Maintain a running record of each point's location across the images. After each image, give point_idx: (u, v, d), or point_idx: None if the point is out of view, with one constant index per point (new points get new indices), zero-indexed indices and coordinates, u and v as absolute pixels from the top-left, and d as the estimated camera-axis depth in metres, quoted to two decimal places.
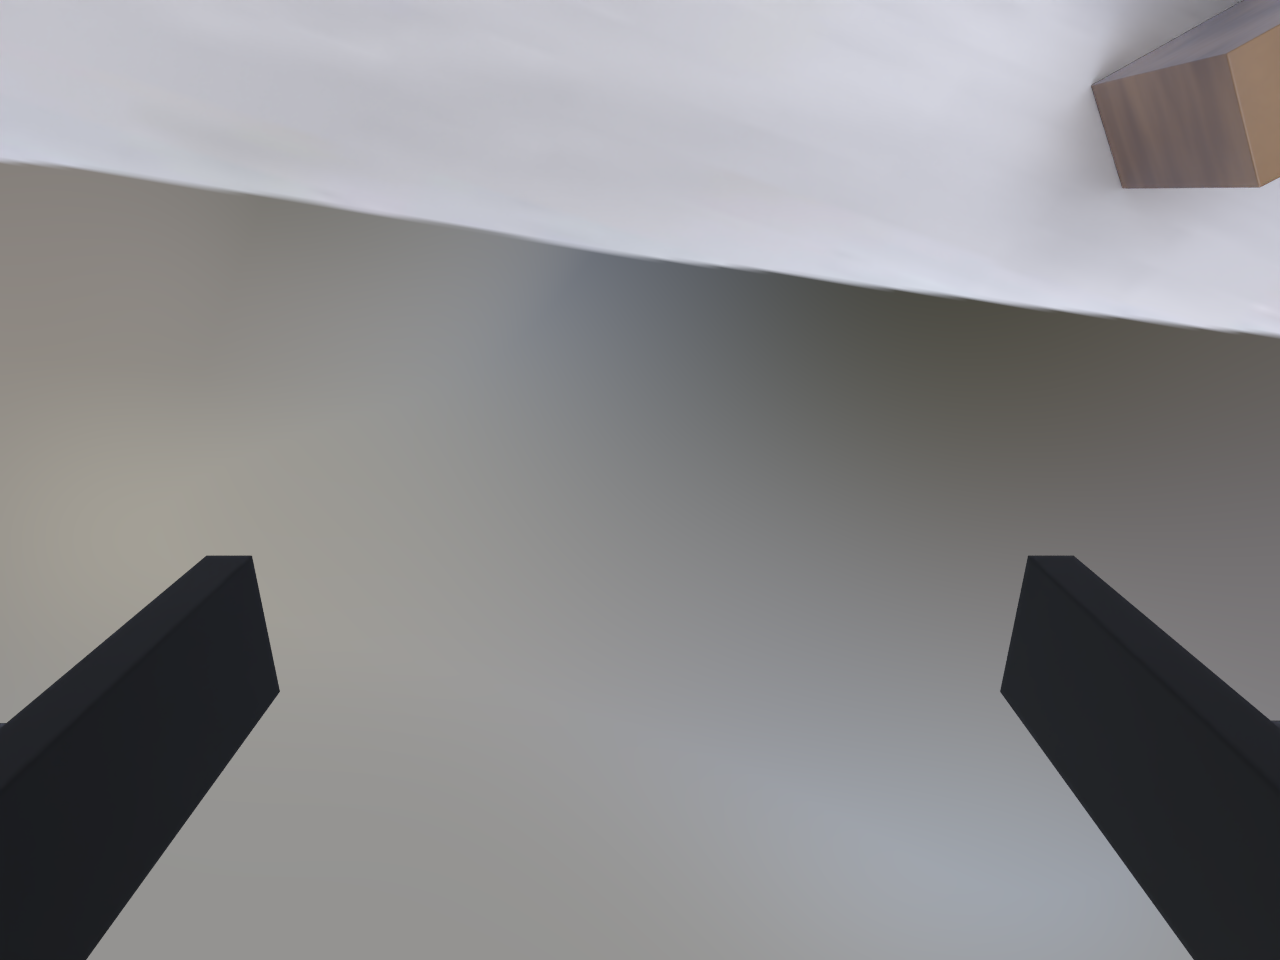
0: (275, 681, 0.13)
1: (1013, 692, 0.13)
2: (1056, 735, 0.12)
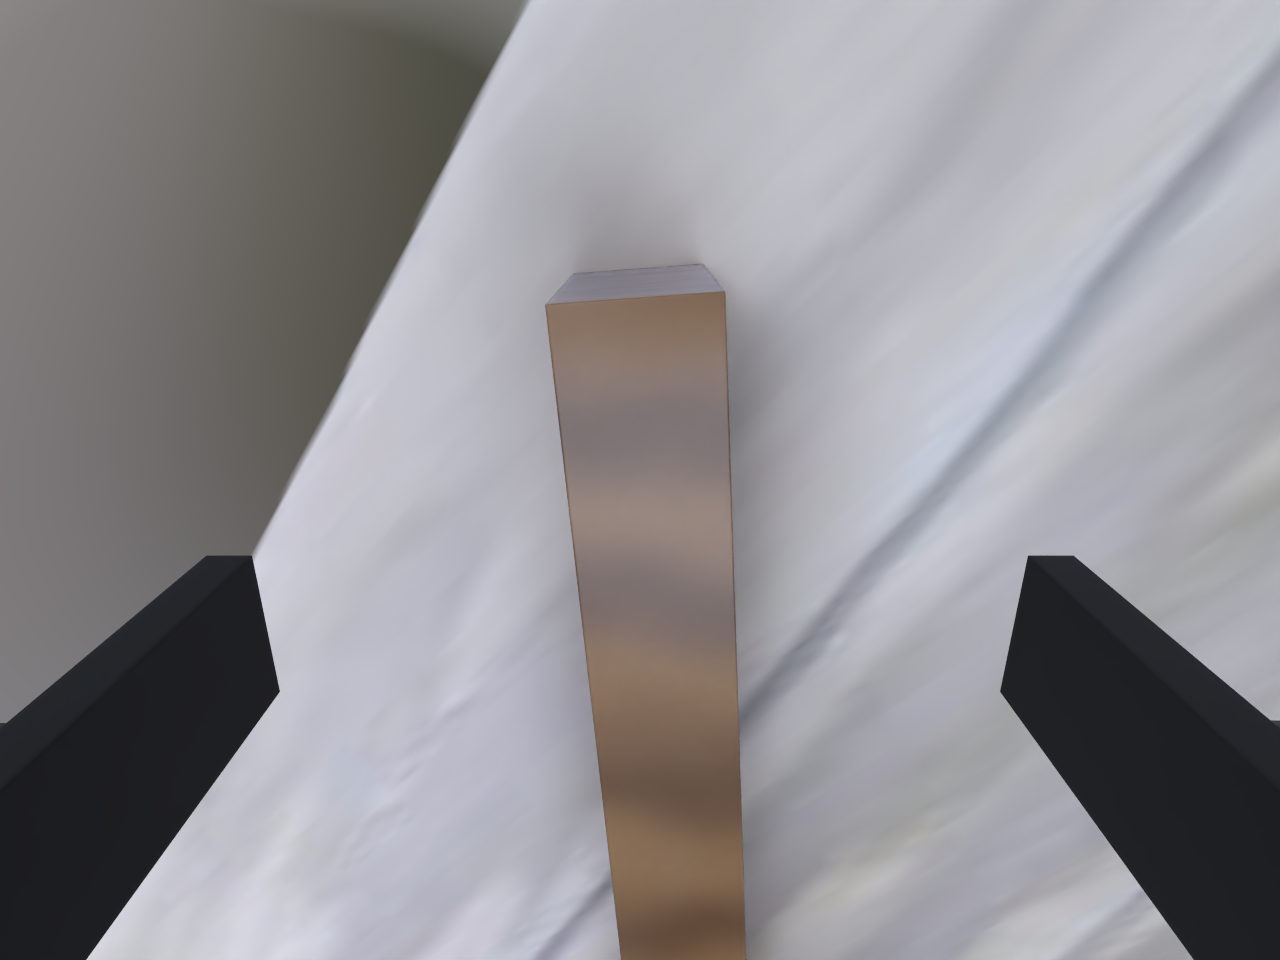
0: (275, 681, 0.13)
1: (1013, 692, 0.13)
2: (1056, 735, 0.12)
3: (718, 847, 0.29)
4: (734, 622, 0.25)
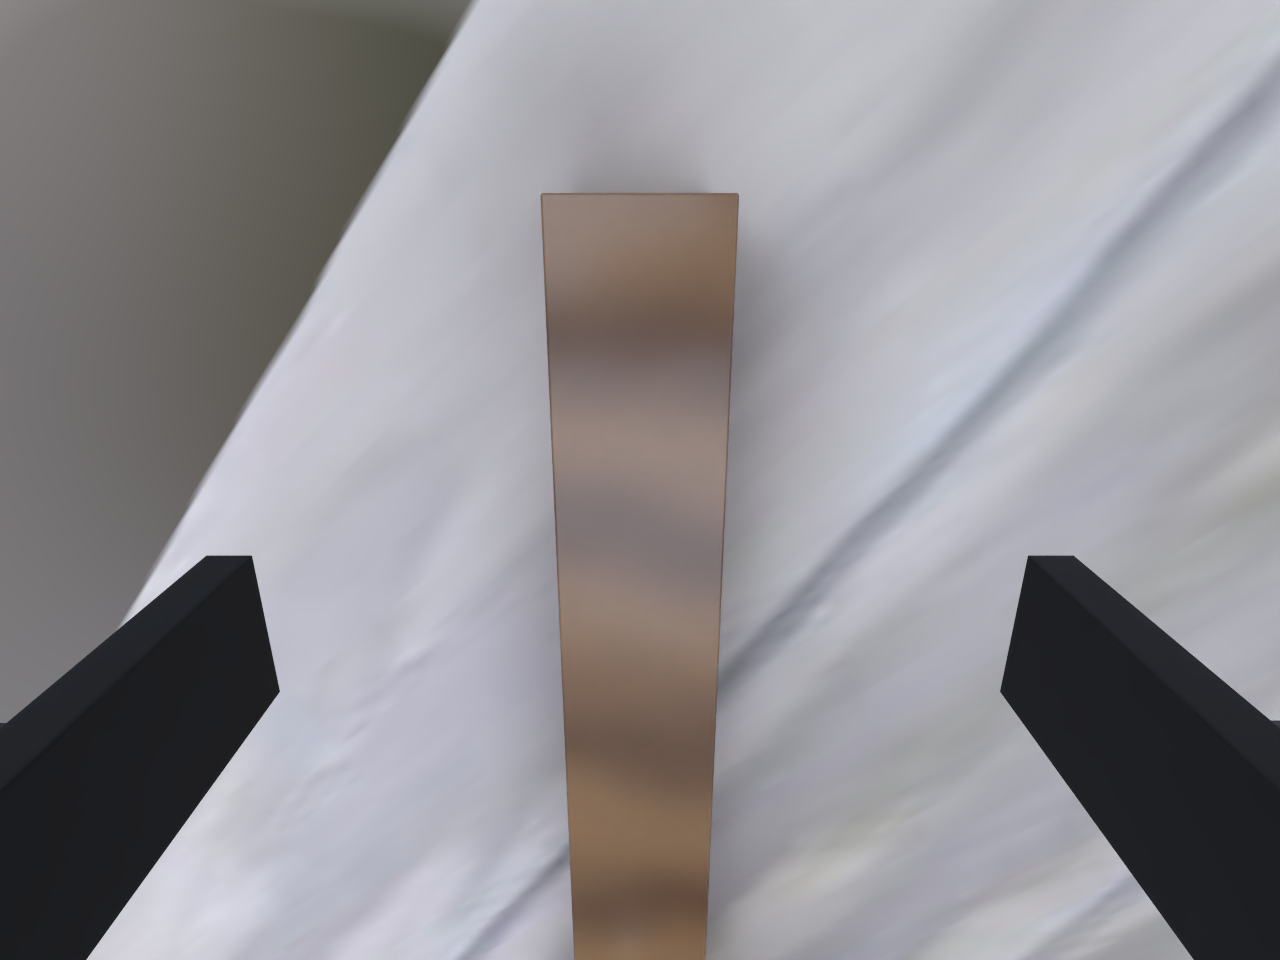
0: (275, 681, 0.13)
1: (1013, 692, 0.13)
2: (1056, 735, 0.12)
3: (686, 814, 0.27)
4: (721, 568, 0.23)
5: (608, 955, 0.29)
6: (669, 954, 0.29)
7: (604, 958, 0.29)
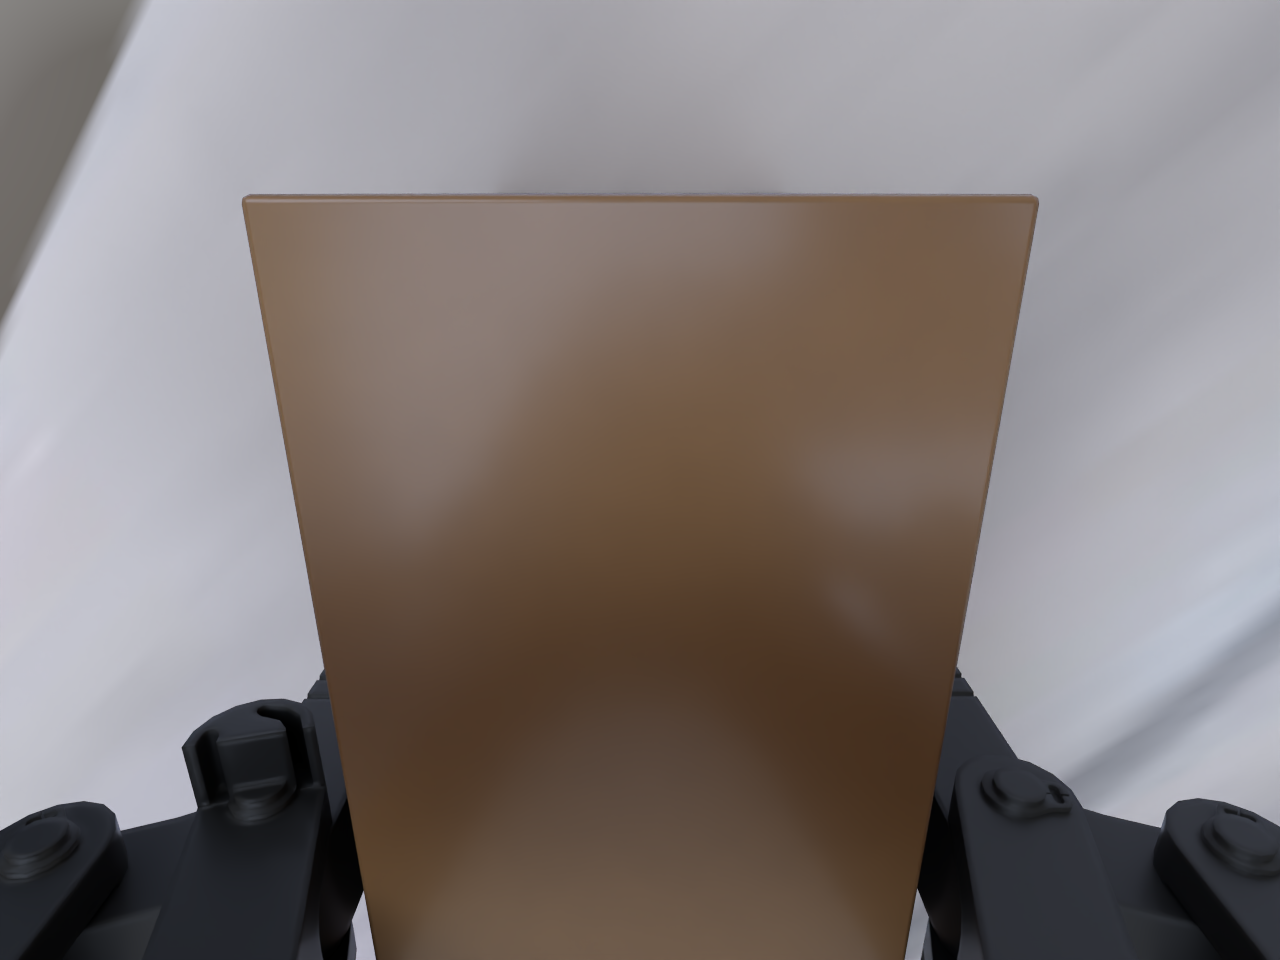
0: None
1: None
2: None
3: None
4: None
5: None
6: None
7: None
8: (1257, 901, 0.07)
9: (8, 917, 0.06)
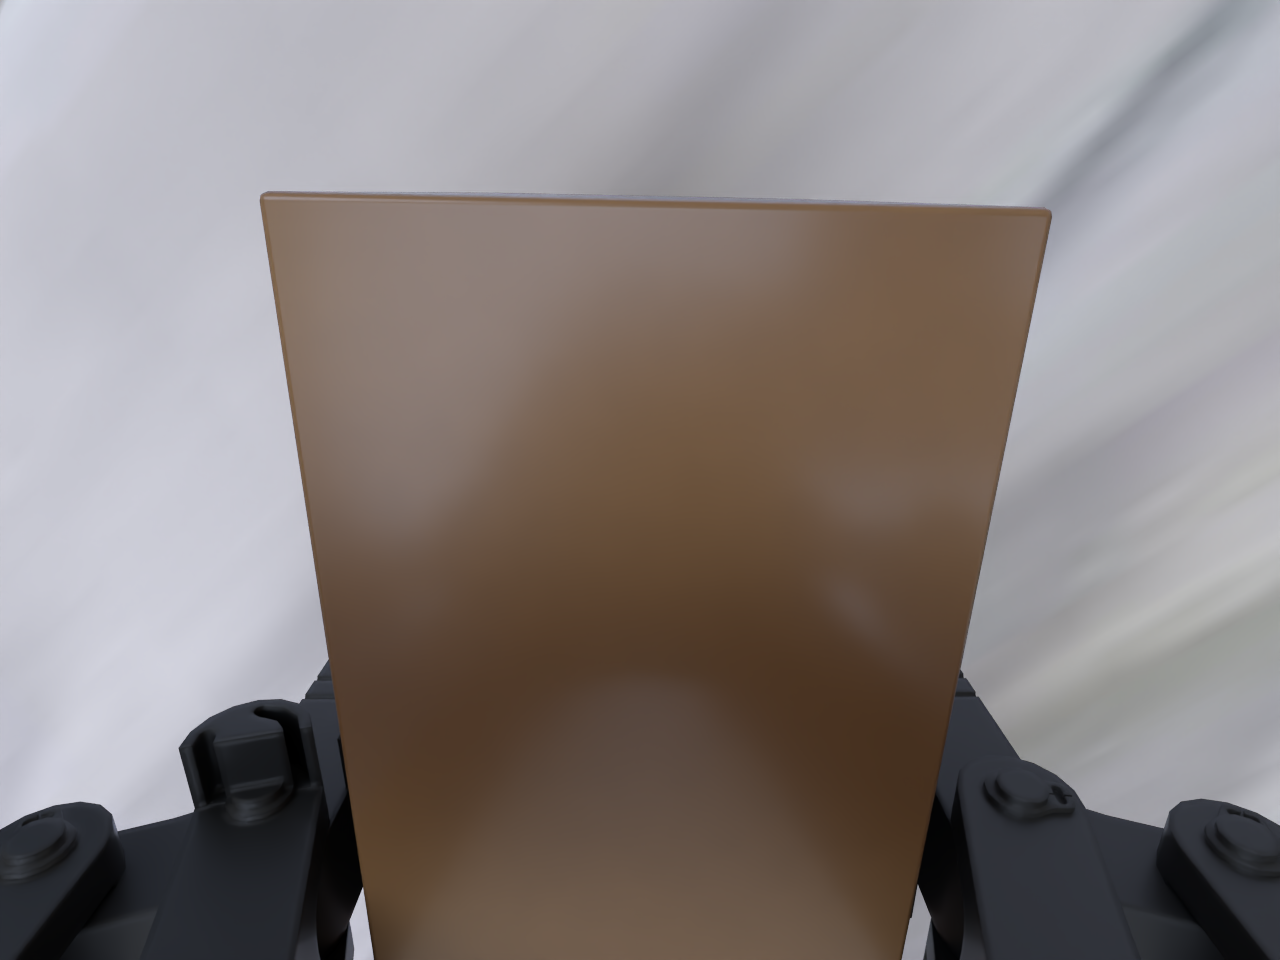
0: None
1: None
2: None
3: None
4: None
5: None
6: None
7: None
8: (1261, 901, 0.07)
9: (4, 918, 0.06)
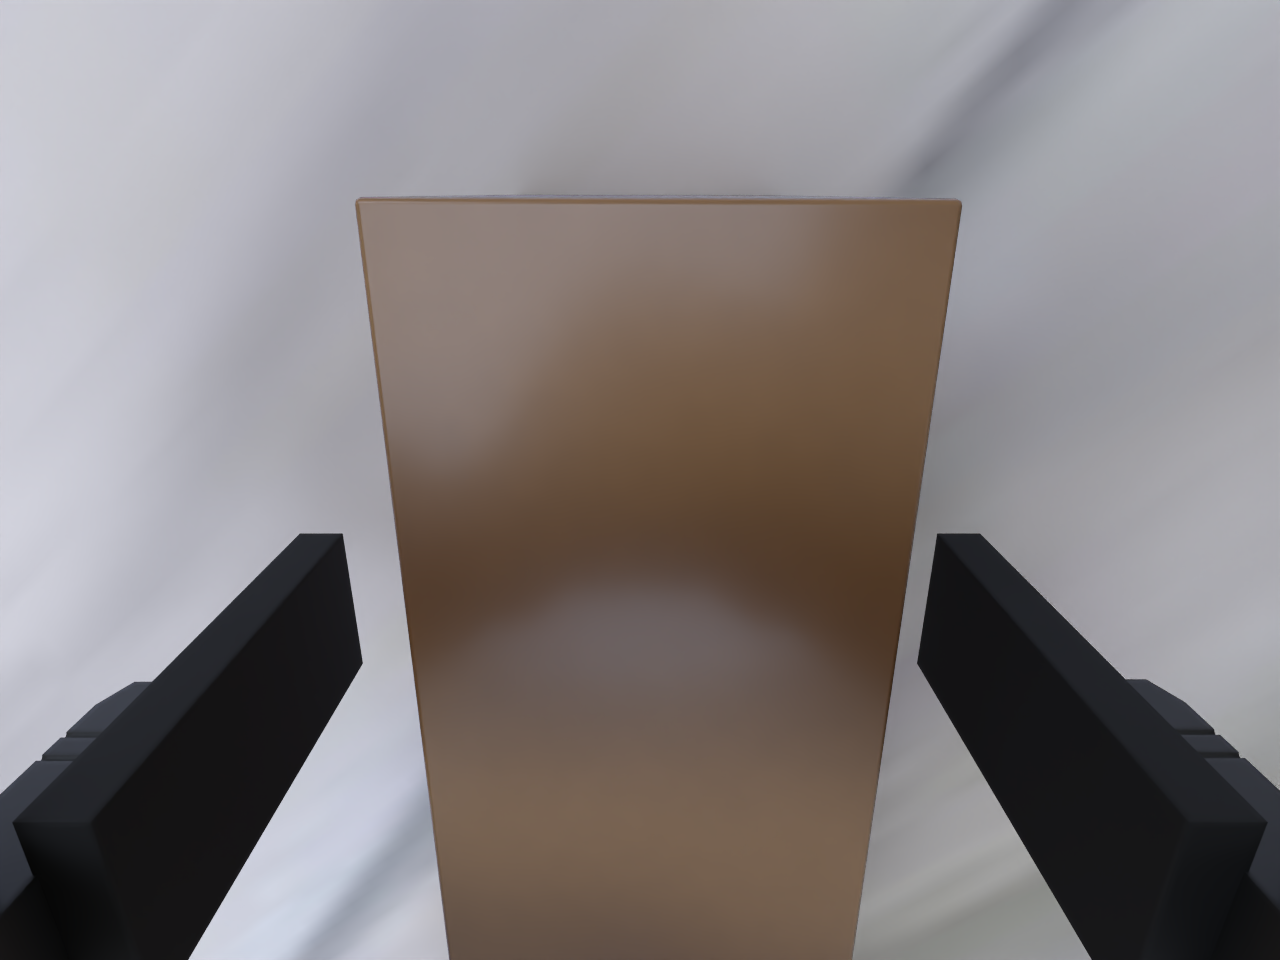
0: (359, 653, 0.14)
1: (926, 663, 0.14)
2: (957, 700, 0.12)
3: None
4: None
5: None
6: None
7: None
8: None
9: None
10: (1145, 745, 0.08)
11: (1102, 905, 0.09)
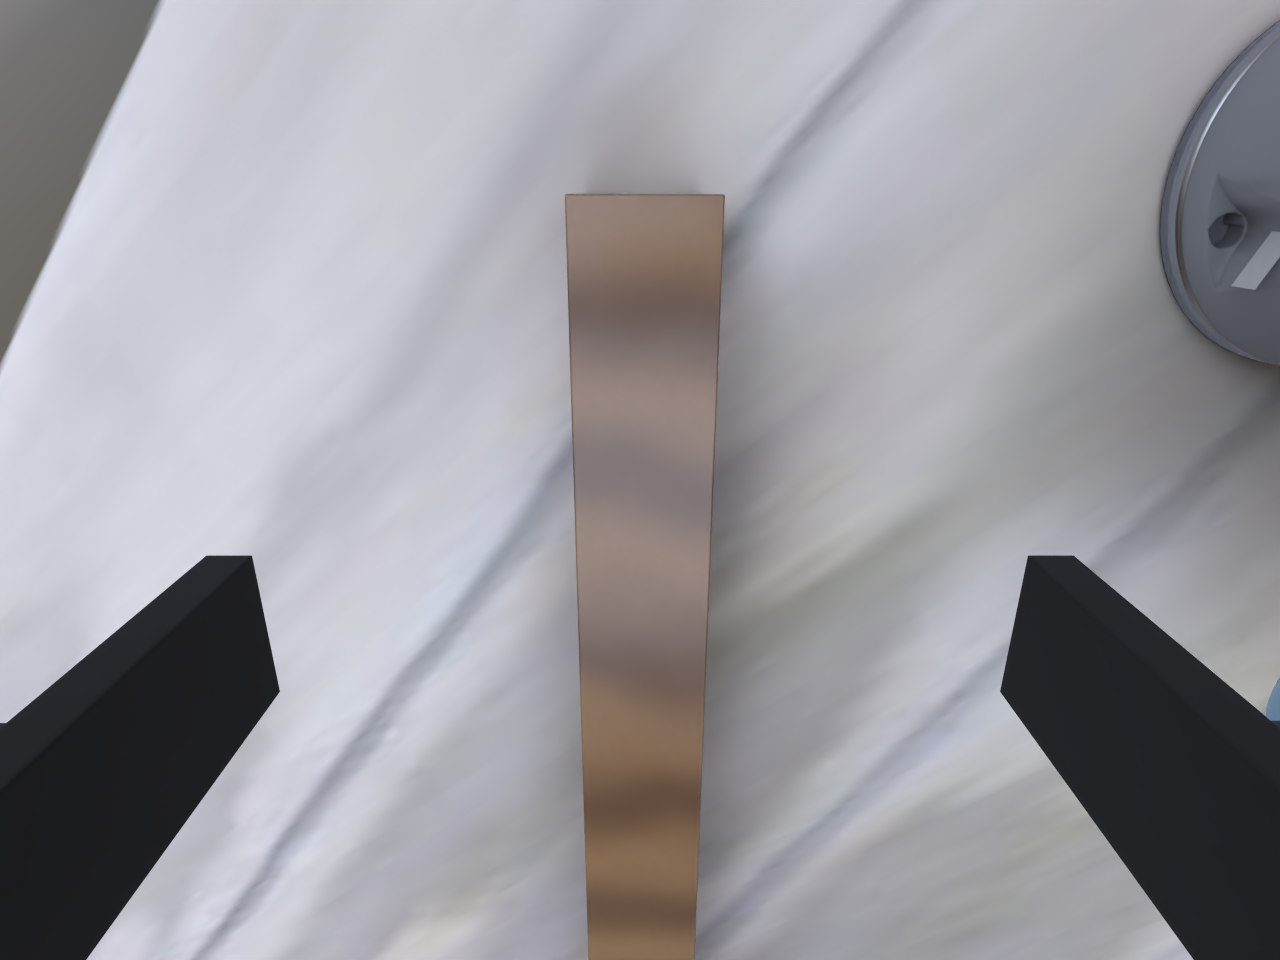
0: (275, 681, 0.13)
1: (1013, 692, 0.13)
2: (1056, 735, 0.12)
3: (682, 723, 0.31)
4: (711, 506, 0.28)
5: (615, 850, 0.34)
6: (667, 850, 0.34)
7: (611, 853, 0.34)
8: None
9: None
10: None
11: None
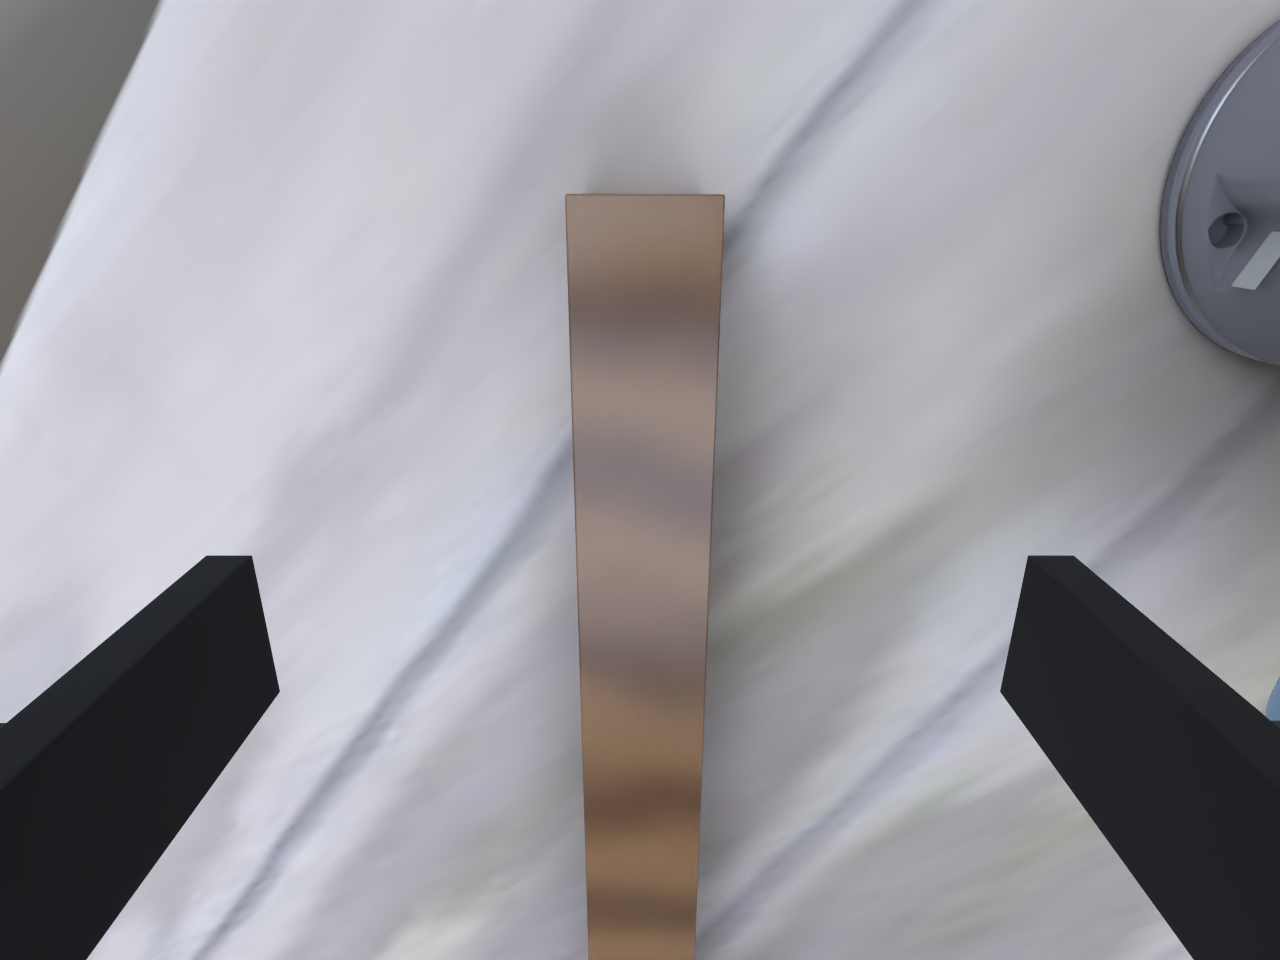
0: (275, 681, 0.13)
1: (1013, 692, 0.13)
2: (1056, 735, 0.12)
3: (682, 723, 0.31)
4: (711, 506, 0.28)
5: (615, 850, 0.34)
6: (667, 850, 0.34)
7: (611, 853, 0.34)
8: None
9: None
10: None
11: None
